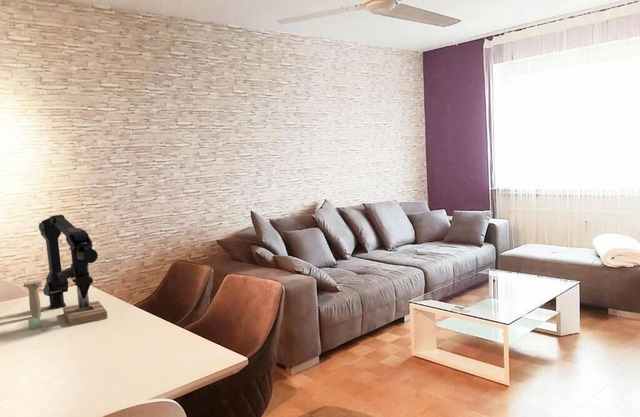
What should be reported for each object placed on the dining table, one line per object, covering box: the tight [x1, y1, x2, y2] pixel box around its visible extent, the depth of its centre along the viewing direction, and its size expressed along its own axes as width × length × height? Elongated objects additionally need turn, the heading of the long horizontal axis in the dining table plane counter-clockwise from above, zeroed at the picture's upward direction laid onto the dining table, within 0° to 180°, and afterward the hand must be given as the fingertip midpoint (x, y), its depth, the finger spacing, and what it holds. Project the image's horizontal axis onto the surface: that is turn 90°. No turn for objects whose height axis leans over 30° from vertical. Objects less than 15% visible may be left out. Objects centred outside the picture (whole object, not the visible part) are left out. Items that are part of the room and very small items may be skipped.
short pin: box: [27, 316, 42, 331], centre depth 191 cm, size 4×4×4 cm
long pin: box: [76, 286, 90, 308], centre depth 203 cm, size 4×4×10 cm
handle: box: [23, 280, 42, 318], centre depth 205 cm, size 5×6×15 cm
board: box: [62, 300, 108, 327], centre depth 203 cm, size 20×14×3 cm
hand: (83, 297), depth 203 cm, fingers closed on long pin, 4 cm apart
